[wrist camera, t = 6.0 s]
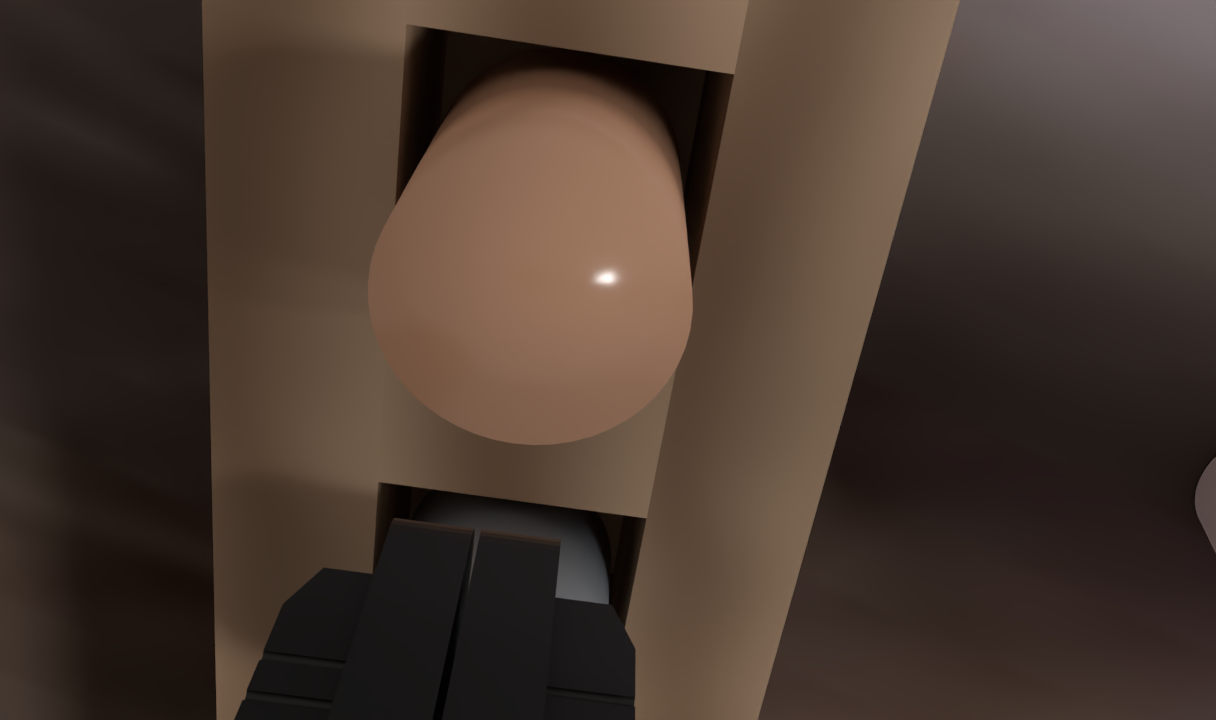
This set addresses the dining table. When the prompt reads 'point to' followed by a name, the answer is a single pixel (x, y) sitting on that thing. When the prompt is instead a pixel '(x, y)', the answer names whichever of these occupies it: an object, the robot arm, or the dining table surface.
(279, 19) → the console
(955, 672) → the dining table surface
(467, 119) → the brown egg
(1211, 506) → the smoothie
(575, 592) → the grey rounded cylinder
